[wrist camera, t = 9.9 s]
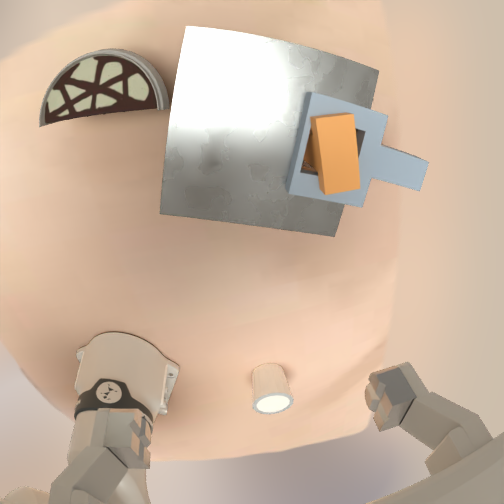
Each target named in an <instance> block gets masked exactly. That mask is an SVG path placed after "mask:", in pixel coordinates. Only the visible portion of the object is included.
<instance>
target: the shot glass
mask: <svg viewBox="0 0 504 504" xmlns="http://www.w3.org/2000/svg"><path fill="white" fill-rule="evenodd" d="M252 397H253V409H254V410H255V411H256V412H259V413H261V414H275V413H279V412H282V411H285V410H286V409H288V408H290V406H291V405H292V404H293V400H294V399H293V396H292V394H291V391H290V388H289V385H288V382H287V379H286V377H285V374H284V371H283V369H282V367H281V366H279V365H278V364H273V363H268V364H263V365H260V366H258V367H257V368H255V369H254V371H253V372H252Z"/></svg>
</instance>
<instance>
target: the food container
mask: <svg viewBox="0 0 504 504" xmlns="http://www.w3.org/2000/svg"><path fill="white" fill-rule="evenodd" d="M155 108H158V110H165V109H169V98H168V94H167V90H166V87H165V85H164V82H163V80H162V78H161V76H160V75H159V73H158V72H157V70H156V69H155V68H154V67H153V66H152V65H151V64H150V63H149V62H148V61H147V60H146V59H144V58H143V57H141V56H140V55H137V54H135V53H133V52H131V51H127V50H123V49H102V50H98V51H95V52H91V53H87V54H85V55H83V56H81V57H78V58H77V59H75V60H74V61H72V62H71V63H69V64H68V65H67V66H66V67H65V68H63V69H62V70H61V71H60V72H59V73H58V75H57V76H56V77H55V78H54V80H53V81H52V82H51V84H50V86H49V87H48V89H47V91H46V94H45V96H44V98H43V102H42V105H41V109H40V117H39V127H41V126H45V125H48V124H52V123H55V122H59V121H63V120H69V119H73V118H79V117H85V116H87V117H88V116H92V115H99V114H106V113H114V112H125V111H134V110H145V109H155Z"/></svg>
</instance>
